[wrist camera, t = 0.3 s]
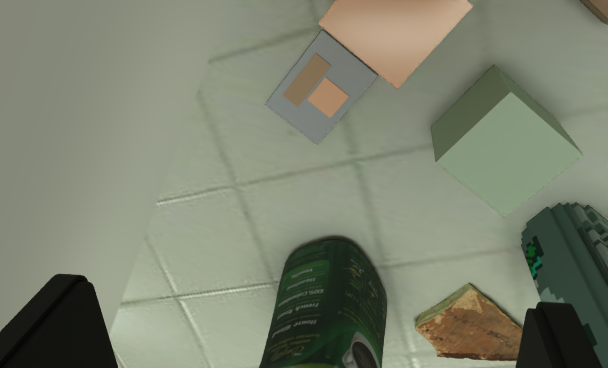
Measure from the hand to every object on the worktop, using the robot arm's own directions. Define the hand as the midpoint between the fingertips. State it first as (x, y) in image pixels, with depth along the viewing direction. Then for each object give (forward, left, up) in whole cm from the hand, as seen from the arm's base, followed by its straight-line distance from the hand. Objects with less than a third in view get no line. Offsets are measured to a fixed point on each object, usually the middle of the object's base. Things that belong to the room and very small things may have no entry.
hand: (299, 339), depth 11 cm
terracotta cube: (-3, -1, -28) cm, 28 cm away
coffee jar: (+18, +11, -28) cm, 35 cm away
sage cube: (-1, +10, -28) cm, 29 cm away
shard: (+12, +23, -28) cm, 38 cm away
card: (+5, -1, -27) cm, 28 cm away
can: (+2, +21, -28) cm, 35 cm away
